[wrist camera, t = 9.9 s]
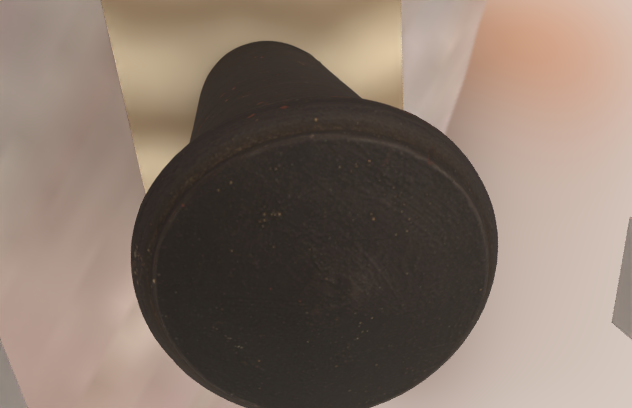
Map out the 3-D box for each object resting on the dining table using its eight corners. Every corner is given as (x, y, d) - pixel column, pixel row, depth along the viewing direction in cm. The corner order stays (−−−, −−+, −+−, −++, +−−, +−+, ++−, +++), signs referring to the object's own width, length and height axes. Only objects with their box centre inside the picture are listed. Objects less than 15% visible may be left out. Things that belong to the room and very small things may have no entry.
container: (280, 212, 32) (348, 498, 13) (161, 121, 29) (34, 335, 10) (374, 108, 30) (593, 271, 12) (258, 0, 27) (315, -4, 9)
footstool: (128, -17, 34) (95, -23, 25) (360, -37, 35) (400, -48, 27) (174, 202, 40) (159, 255, 32) (370, 176, 42) (404, 220, 33)
